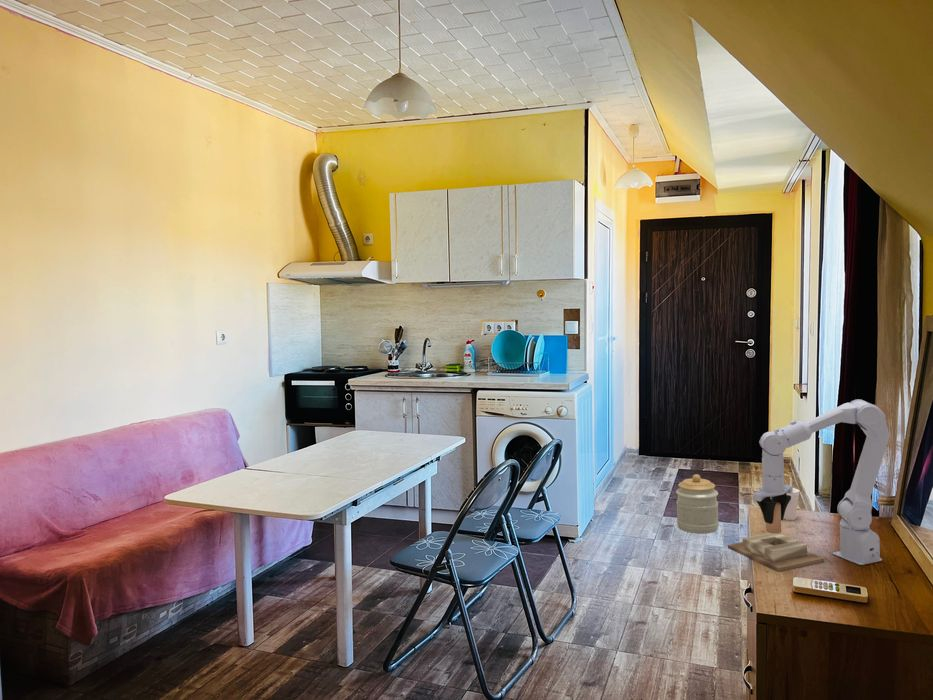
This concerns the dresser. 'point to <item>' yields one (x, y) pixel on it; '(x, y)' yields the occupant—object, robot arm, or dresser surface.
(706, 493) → the jar
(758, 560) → the socket
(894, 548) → the dresser surface
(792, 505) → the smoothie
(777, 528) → the peg
